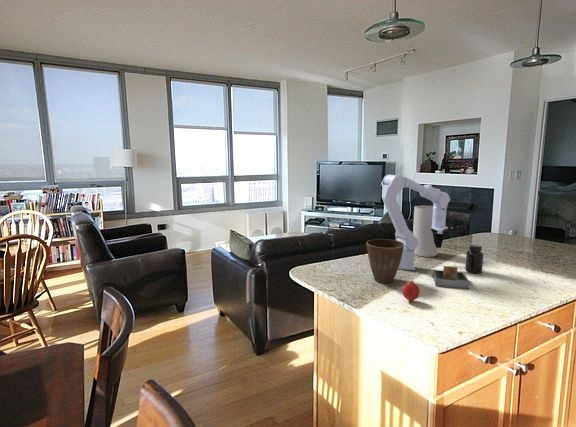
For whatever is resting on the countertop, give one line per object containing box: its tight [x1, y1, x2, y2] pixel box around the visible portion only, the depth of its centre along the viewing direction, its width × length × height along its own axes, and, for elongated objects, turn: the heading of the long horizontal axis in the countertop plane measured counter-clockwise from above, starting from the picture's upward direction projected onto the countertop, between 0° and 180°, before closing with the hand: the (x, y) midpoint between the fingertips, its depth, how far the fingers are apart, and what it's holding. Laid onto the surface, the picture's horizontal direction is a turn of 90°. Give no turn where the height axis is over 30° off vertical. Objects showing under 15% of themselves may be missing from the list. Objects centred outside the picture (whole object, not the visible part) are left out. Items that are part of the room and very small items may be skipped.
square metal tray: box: [432, 269, 470, 290], centre depth 145 cm, size 12×12×3 cm
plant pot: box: [366, 238, 404, 284], centre depth 147 cm, size 15×15×16 cm
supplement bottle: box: [464, 244, 485, 275], centre depth 158 cm, size 7×7×12 cm
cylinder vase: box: [412, 205, 439, 258], centre depth 186 cm, size 12×12×25 cm
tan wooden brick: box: [442, 265, 459, 279], centre depth 145 cm, size 5×2×6 cm, turn 73°
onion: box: [401, 279, 421, 303], centre depth 126 cm, size 6×6×8 cm
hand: (437, 245), depth 167 cm, fingers open, 7 cm apart
